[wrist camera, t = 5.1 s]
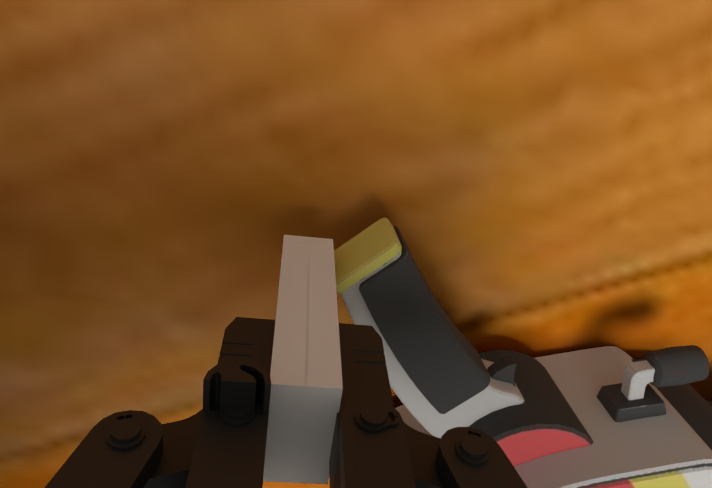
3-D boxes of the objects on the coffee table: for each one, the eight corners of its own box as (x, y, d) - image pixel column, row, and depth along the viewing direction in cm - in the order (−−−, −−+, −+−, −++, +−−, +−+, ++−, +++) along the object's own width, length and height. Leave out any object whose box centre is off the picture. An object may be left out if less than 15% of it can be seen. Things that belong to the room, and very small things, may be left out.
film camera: (830, 135, 21) (743, 443, 28) (297, 199, 20) (339, 508, 27) (1057, 208, 15) (877, 582, 22) (307, 309, 14) (358, 676, 20)
